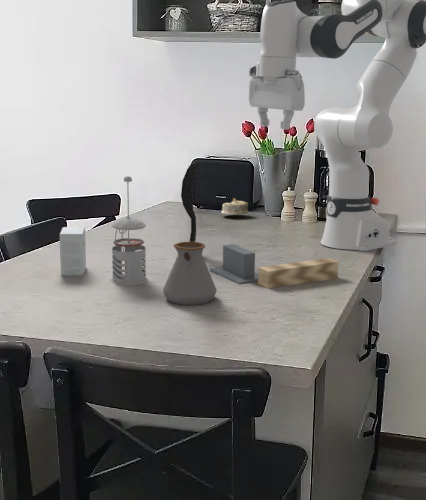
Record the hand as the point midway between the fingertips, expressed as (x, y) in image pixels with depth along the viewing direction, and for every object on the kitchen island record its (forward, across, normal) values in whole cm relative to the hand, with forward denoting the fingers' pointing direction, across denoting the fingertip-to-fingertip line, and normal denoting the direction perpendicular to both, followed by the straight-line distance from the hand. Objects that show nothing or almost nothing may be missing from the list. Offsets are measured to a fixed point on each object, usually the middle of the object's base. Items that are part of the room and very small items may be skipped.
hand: (274, 127), depth 184 cm
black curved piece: (+35, +19, +13) cm, 42 cm away
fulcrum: (+35, -6, +12) cm, 38 cm away
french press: (+36, +3, +37) cm, 52 cm away
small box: (+36, +16, +47) cm, 61 cm away
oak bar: (+36, -17, +2) cm, 39 cm away
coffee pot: (+36, -23, +34) cm, 55 cm away
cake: (+35, +66, -28) cm, 80 cm away
